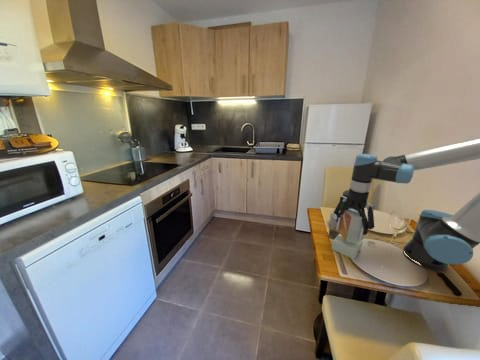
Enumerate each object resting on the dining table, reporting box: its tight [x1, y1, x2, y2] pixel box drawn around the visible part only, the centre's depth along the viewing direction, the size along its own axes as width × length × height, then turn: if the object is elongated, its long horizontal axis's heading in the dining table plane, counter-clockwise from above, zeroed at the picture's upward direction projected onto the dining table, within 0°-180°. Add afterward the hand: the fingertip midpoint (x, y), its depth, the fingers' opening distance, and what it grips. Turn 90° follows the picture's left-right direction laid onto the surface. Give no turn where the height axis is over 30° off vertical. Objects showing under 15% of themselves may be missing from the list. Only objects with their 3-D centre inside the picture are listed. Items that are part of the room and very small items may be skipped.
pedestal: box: [331, 234, 363, 260], centre depth 95 cm, size 10×10×5 cm
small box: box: [339, 209, 367, 242], centre depth 92 cm, size 8×6×13 cm
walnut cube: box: [327, 225, 340, 240], centre depth 105 cm, size 5×5×5 cm
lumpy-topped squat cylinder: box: [329, 210, 342, 228], centre depth 113 cm, size 10×13×9 cm
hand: (349, 234), depth 93 cm, fingers closed on small box, 10 cm apart
